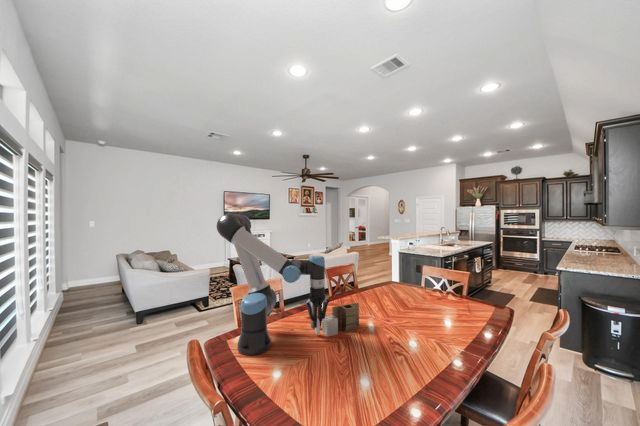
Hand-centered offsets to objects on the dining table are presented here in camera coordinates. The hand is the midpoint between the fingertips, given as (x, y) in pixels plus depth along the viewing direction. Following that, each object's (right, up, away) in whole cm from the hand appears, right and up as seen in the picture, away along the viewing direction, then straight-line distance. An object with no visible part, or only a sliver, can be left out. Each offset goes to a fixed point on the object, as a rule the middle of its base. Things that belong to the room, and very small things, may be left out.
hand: (317, 333), depth 134 cm
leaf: (+12, -1, +5) cm, 13 cm away
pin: (-2, -1, +10) cm, 10 cm away
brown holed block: (+19, -1, +8) cm, 20 cm away
